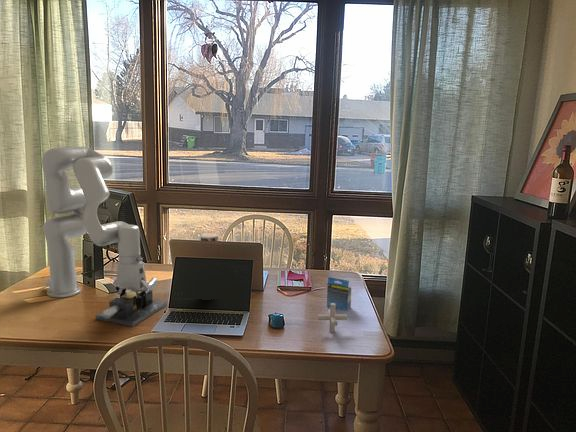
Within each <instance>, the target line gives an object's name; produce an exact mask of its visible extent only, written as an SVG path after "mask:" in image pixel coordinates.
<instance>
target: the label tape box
mask: <svg viewBox="0 0 576 432" xmlns="http://www.w3.org/2000/svg"><path fill="white" fill-rule="evenodd" d="M338 282H339V283H338ZM349 282H350V281H349V280H346V279H341V278H336V277H332V276H328V277H327V283H326V284H327V290H326V292H327V294H326V295H327V296H326V307H329V308H330V304H331V303H335V304H336V308H335V309H339V310H343V311H349V310H350V309H351V307H352V306H351V305H352V287H350V286H349Z"/></svg>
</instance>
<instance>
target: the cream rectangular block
mask: <svg viewBox="0 0 576 432" xmlns="http://www.w3.org/2000/svg"><path fill="white" fill-rule="evenodd" d="M130 291H131V290H130ZM130 291H129V292H127V294H125V295H123V296H121V299H127V300H132V301H133V313H134V312H136V311H137V310H139V309H141V308H142V307H140V308H137V306H136V298H137V294H136V292H134V291H131V292H130Z"/></svg>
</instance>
